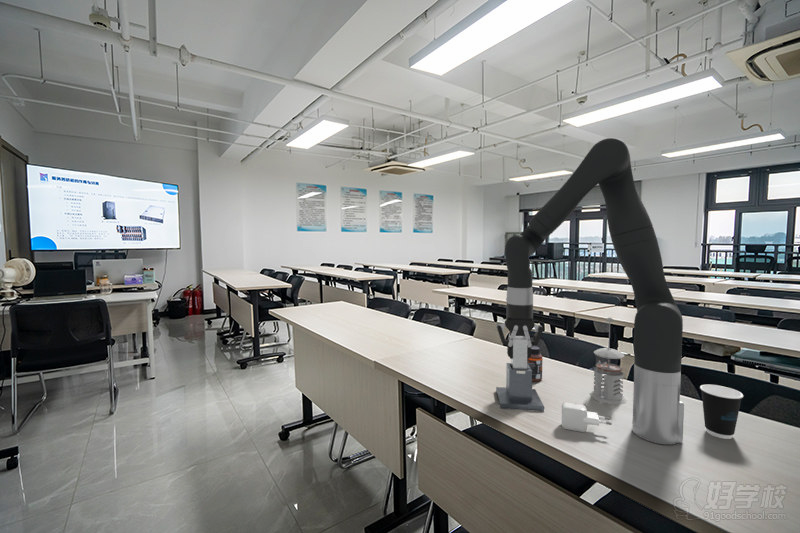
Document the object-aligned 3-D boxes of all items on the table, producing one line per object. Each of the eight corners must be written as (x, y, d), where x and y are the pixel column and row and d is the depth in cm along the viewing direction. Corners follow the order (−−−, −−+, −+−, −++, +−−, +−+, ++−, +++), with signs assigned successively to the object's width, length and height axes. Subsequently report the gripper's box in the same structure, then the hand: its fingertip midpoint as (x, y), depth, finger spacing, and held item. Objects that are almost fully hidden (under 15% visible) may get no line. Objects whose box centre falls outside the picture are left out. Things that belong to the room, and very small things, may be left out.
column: (524, 393, 109) (525, 336, 108) (527, 398, 104) (527, 339, 103) (510, 392, 109) (510, 335, 108) (512, 397, 105) (513, 339, 104)
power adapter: (609, 429, 90) (609, 407, 90) (612, 439, 85) (612, 415, 85) (561, 421, 94) (561, 400, 94) (561, 430, 90) (562, 407, 89)
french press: (631, 398, 108) (634, 317, 106) (615, 409, 101) (618, 323, 99) (598, 388, 116) (600, 313, 114) (581, 397, 109) (582, 317, 107)
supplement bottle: (543, 382, 121) (544, 350, 120) (525, 381, 122) (525, 349, 121) (540, 376, 127) (540, 345, 126) (523, 375, 128) (523, 344, 127)
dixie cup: (705, 422, 93) (706, 381, 92) (746, 436, 86) (748, 392, 86) (692, 431, 89) (694, 388, 88) (734, 446, 82) (737, 400, 81)
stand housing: (535, 393, 112) (535, 361, 111) (543, 411, 100) (544, 375, 99) (496, 391, 114) (496, 359, 113) (500, 408, 102) (500, 373, 101)
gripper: (496, 303, 103) (496, 361, 104) (547, 304, 100) (546, 363, 101) (493, 299, 110) (493, 353, 111) (541, 300, 108) (541, 355, 109)
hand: (519, 358), depth 106 cm, fingers closed on column, 4 cm apart
